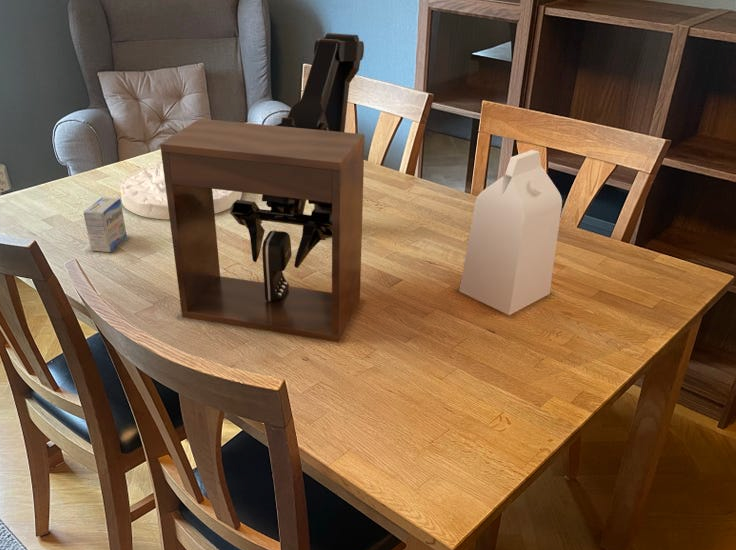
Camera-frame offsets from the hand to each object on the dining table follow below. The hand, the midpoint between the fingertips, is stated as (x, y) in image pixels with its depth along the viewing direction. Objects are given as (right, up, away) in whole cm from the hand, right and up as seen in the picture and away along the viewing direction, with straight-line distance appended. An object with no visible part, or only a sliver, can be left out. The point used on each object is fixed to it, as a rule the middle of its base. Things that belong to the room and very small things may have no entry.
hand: (275, 264), depth 128 cm
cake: (-26, +22, +47) cm, 58 cm away
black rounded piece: (0, -5, +5) cm, 7 cm away
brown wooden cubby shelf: (-1, -8, +3) cm, 8 cm away
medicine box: (-36, +7, +25) cm, 45 cm away
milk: (+42, -4, +9) cm, 43 cm away
